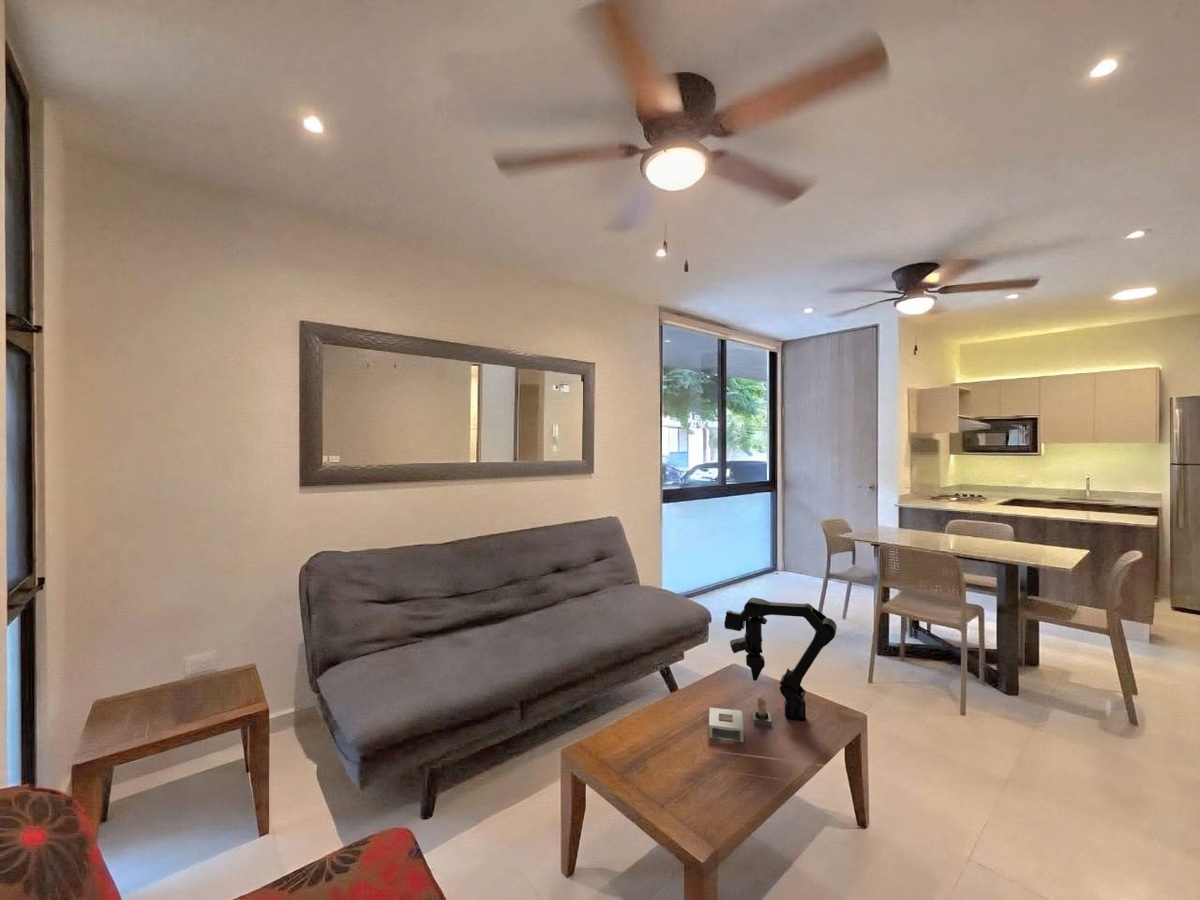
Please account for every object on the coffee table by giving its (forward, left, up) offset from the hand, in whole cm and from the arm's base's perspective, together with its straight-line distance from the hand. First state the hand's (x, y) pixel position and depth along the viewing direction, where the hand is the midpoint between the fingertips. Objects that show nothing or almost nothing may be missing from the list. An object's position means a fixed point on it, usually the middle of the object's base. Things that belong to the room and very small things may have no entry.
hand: (753, 674), depth 184 cm
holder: (-2, +10, -12) cm, 16 cm away
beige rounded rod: (-2, +10, -12) cm, 15 cm away
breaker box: (+11, +18, -12) cm, 24 cm away
